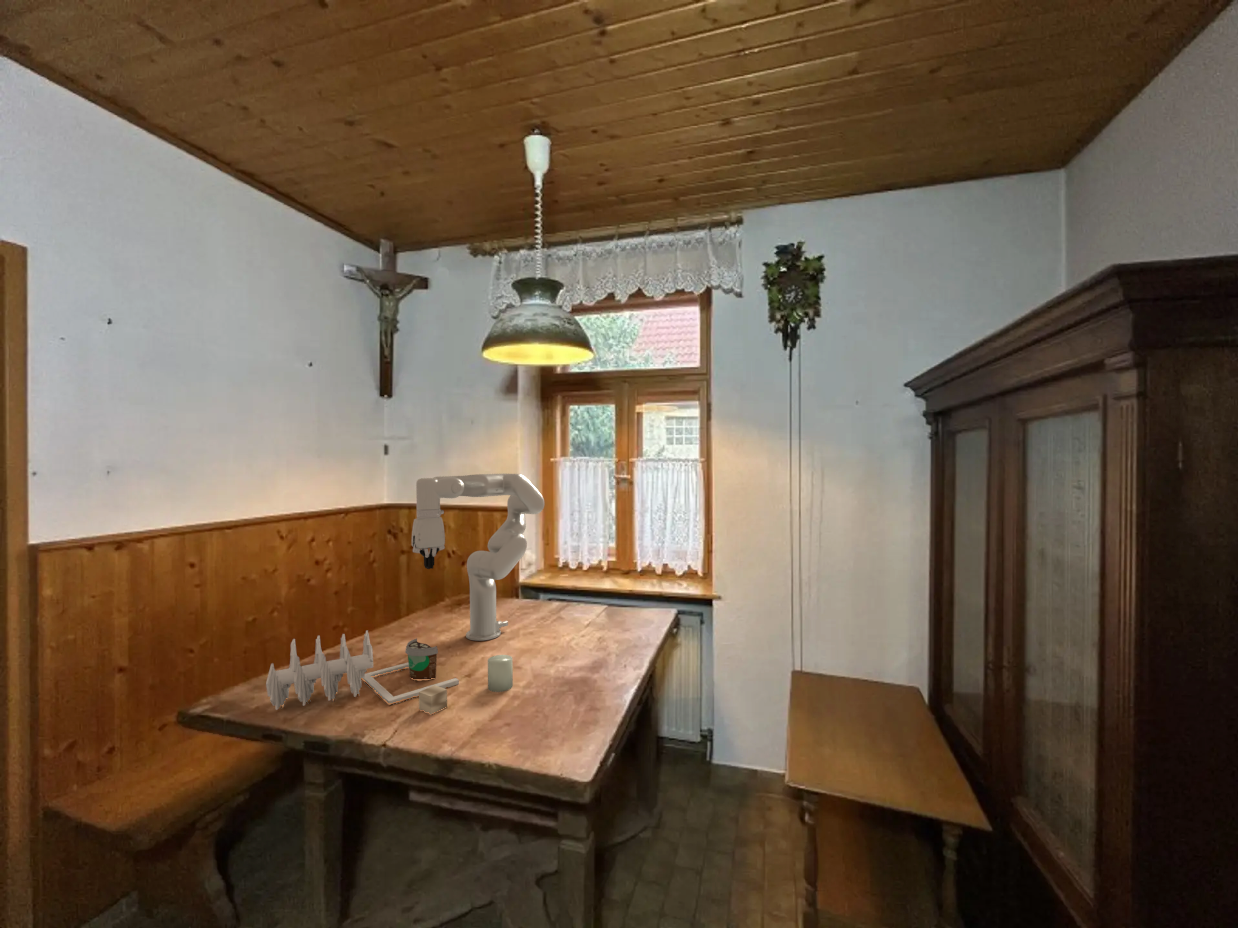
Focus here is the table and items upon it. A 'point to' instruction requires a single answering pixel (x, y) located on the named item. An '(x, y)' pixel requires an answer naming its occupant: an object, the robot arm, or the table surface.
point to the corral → (391, 699)
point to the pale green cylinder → (500, 673)
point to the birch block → (433, 699)
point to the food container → (421, 660)
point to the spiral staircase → (319, 673)
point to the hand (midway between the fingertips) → (429, 568)
